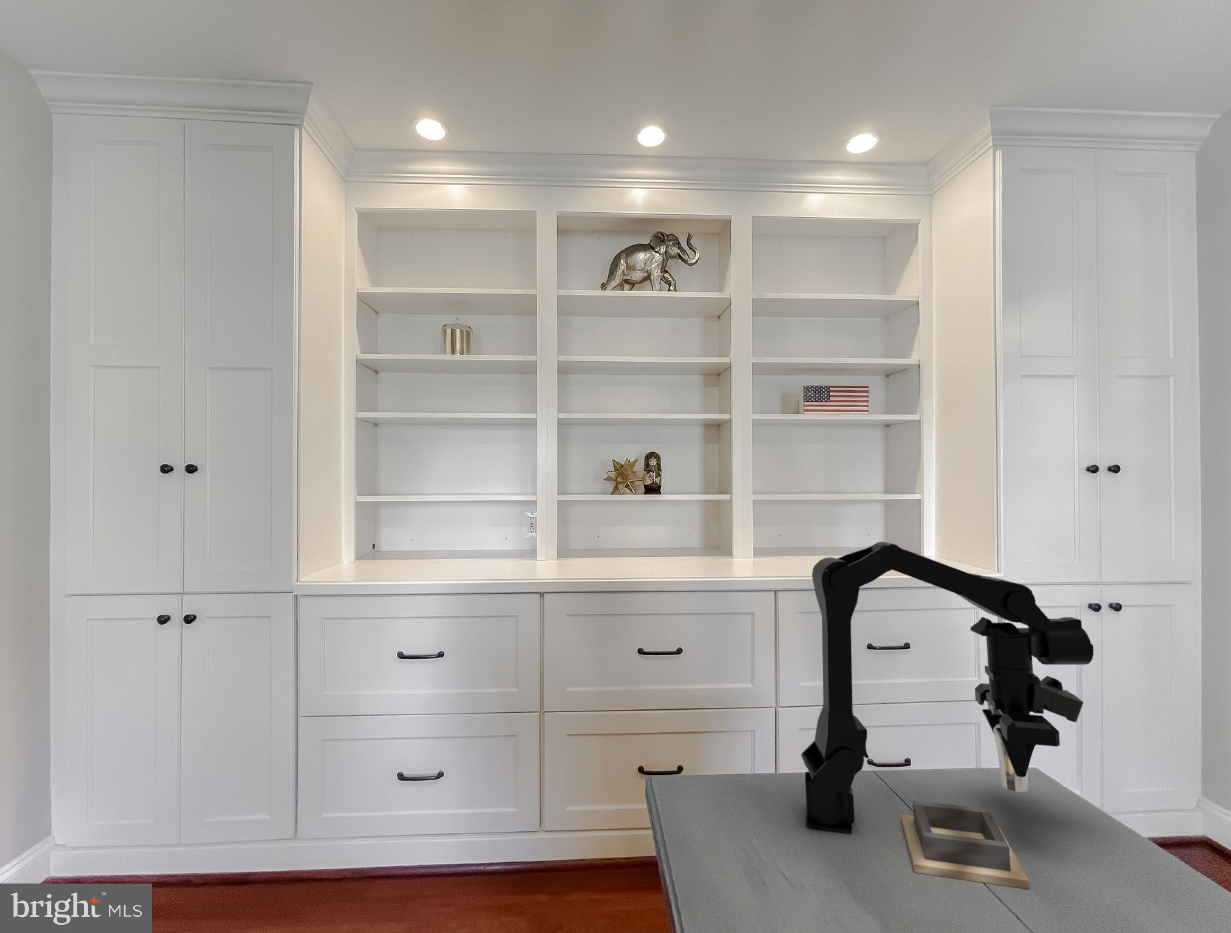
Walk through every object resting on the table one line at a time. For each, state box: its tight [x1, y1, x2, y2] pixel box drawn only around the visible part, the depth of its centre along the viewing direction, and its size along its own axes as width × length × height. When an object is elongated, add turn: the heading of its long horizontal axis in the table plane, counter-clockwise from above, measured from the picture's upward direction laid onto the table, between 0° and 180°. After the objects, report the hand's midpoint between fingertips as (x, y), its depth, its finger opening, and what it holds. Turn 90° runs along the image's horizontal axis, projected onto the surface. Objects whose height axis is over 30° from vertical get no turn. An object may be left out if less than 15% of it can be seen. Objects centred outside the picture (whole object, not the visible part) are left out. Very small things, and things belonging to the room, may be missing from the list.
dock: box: [900, 800, 1030, 890], centre depth 84 cm, size 13×13×4 cm
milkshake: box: [992, 724, 1029, 793], centre depth 91 cm, size 4×5×10 cm
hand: (1016, 770), depth 90 cm, fingers closed on milkshake, 4 cm apart
